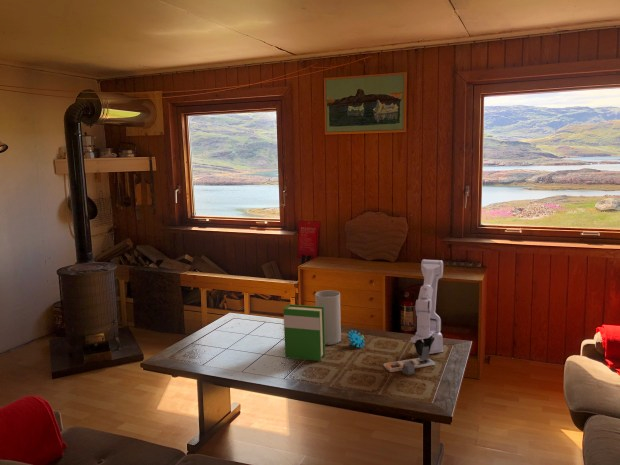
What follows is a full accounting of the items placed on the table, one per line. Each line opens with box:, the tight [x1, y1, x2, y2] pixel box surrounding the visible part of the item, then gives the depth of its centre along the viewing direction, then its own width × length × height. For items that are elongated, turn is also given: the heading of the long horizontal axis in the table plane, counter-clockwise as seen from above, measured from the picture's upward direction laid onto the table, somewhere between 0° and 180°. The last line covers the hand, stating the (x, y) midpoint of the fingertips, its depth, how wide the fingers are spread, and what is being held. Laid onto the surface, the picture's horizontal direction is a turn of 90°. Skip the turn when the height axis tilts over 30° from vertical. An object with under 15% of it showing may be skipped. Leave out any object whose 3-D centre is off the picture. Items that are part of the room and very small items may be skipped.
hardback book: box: [283, 304, 326, 362], centre depth 243 cm, size 18×7×24 cm, turn 71°
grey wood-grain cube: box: [402, 362, 415, 376], centre depth 222 cm, size 4×4×4 cm
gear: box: [347, 329, 365, 349], centre depth 256 cm, size 11×6×10 cm
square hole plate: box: [383, 357, 436, 373], centre depth 230 cm, size 22×7×1 cm, turn 107°
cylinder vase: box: [314, 289, 342, 346], centre depth 262 cm, size 12×12×25 cm
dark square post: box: [417, 344, 430, 361], centre depth 232 cm, size 4×4×6 cm
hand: (423, 353), depth 232 cm, fingers closed on dark square post, 4 cm apart
